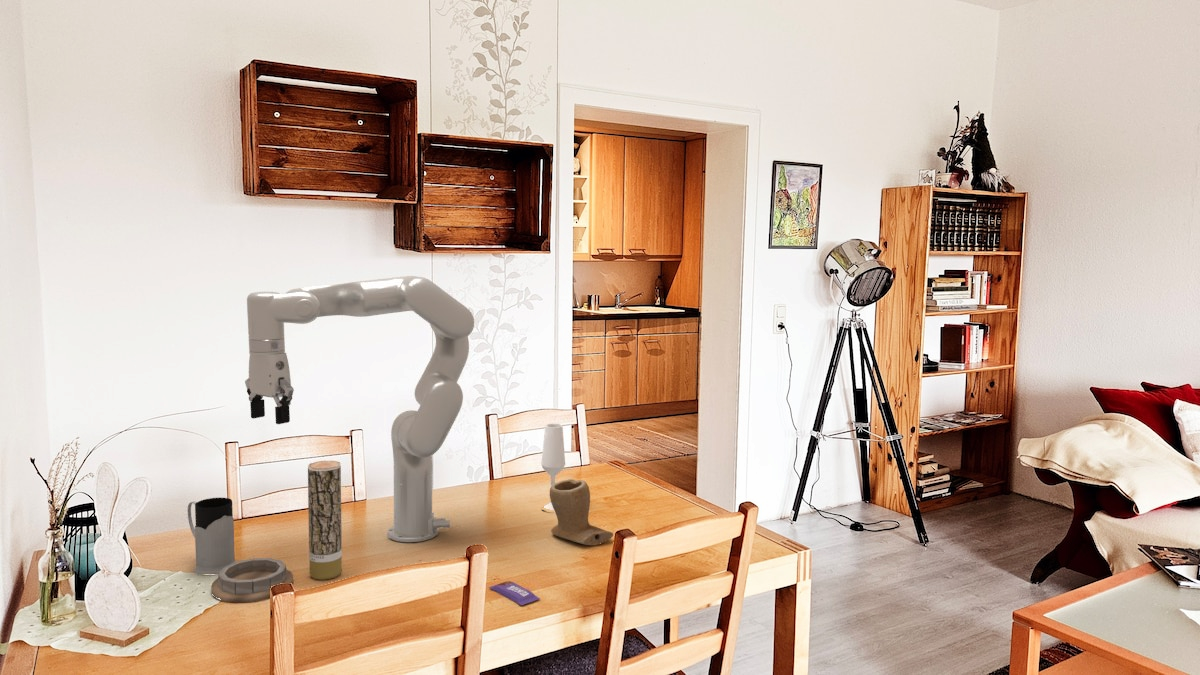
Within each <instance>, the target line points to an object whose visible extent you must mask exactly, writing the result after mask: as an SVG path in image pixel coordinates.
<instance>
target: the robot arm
mask: <svg viewBox="0 0 1200 675" xmlns="http://www.w3.org/2000/svg"><path fill="white" fill-rule="evenodd" d="M246 310H247V311H246V312H247V313H246V314H247V330H248V353H249V359H248V378H247V379H245V381H244V384H245V387H246V392H247V394H248V401H249V402H250V404H249V405H250V406H249V407H250V418H251V419H258V418H263V417H266V416H265V414H266V413H265V412H266V410H265V399H263V398H264V397H265V398H266V397H267V398H270V399H272V398H273V400H274V402H275V404H276V406H275V407H274V410H275V413H274V415H275V424H276V425H282V424H287V423H289V422H291V420H290V419H291V417H290V406H291V402H292V400H293V394H294V392H295V391H294V390H295V389H294V387H293V386H292V382H291V372H290V366H289V359H288V356H287V355H288V354H287V352H286V346H285V344H286V343H285V340H286V339H285V323H289V324H295V325H296V324H297V325H300V324H301V325H304V324H305V325H306V324H309V323H312V322H313V321H315V320H316V319H317V318H321V317H331V316H347V317H348V316H349V317H359V318H361V317H362V318H363V317H364V318H365V317H372V316H378V315H388V314H394V313H404V312H413V313H415V314H416V315H418V316H419V317H420V318H422V319H423V320H424V321H426V322H427V323H428V324H429V326H430V328H431V329H432V331H433V333H434V336H435V347H434V350H433V353H432V355H431V358H430V360H429V361H428V363H427V364H426V367H425V368H424V371H423V372H422V375H421V377H420V378H419V380H418V382H417V384H416V385H415V387H414V397H415V401H416V402H417V404H418V405H419V407H418V410H413V409H412V410H411V409H410V410H406V411H403V412H401V413H400V414H399V415H398V416H396V418H395V419H394V420H393V423H392V425H391V430H390V432H391V435H390V436H391V445H392V454H393V455H392V456H393V457H392V458H393V525H392V526H390V527H389V528H388V529H387V537H388V538H389V539H390V540H393V541H396V542H401V543H418V542H419V543H420V542H423V541H428V540H430V539H432V538H435V537H436V536H438V535H439V528H443V529H447V528H451V520H450V519H446V517H439V518H437V516H435V512H433V456H432V455H435V454H436V453H437V452H438V451H439V450H440V448H441V447H442V446H443V444H444V442H445V440H446V439H447V437H448V435H449V433H450V430H451V429H452V427H453V425H454V423H455V421H456V419H457V417H458V415H459V414H460V412H461V408H462V406H463V403H464V402H463V400H464V393H463V390H462V388H461V386H460V384H458V381H459V379H460V377H461V375H462V373H463V370H464V368H465V366H466V363H467V361H468V357H469V353H470V352H469V350H470V343H469V335H471V334H472V332H473V331H474V328H475V319H474V316H473V315H474V314H473V313H472V312H471V310H470V309H469V308H468V307H467V306H465V305H464V304H463V303H461V302H460V301H458V300H457V298H454V297H453V296H452V295H450V294H449V293H448V292H446V291H445V290H443V288H441V287H440V286H439V285H437V284H436V283H434V282H433V281H431V280H430V279H428V278H426V277H422V276H421V277H420V276H415V275H406V276H399V277H398V276H395V277H388V278H379V279H378V278H377V279H370V280H360V281H359V280H358V281H351V282H344V283H339V284H338V283H337V284H329V285H319V286H318V285H317V286H308V287H307V286H306V287H298V288H293V289H290V290H288V291H286V292H284V293H280V292H276V291H256V292H250V293H249V294H248V296H247V297H246ZM280 398H281V399H280Z"/></svg>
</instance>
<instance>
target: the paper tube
mask: <svg viewBox="0 0 1200 675" xmlns="http://www.w3.org/2000/svg"><path fill="white" fill-rule="evenodd" d="M341 467H342V466H341V462H339V461H338V460H337V461H336V460H319V461H318V460H317V461H313V462H311V463H308V464H307V493H308V494H307V499H308V501H307V503H308V509H307V510H308V558H309V559H308V560H309V561H308V562H309V565H308V566H309V575H310V577H311V578H312V579H315V580H322V581H323V580H331V579H334V578H336V577H338V576H340V574H341V573H342V570H343V564H342V562H343V561H342V560H343V556H342V555H343V553H342V552H343V551H342V550H343V549H342V548H343V547H342V482H341V481H342V476H341V475H342V468H341Z"/></svg>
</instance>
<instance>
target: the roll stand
mask: <svg viewBox="0 0 1200 675" xmlns="http://www.w3.org/2000/svg"><path fill="white" fill-rule="evenodd" d="M280 583H292V584H294V574H293V573H292V572H291V571H290V570H289V569H287V565H286V563H285V562H284V561H283V560H281V559H276V558H271V557H253V558H248V559H243V560H238V561H236V562H234V563H232V564H230V565H228V566H225V567H224V568H222V570H221V571H220V572H219V573H218V575H217V578H216V579H215V580H214V581H213V582H212V584H211V586H210V587H211V588H210V589H211V590H210V591H211V595H212V594H213V595H214V596H215V597H217V598H220V599H221V600H222V601H221V602H224V603H232V604H246V603H248V604H249V603H253V602H260V601H265V600H269V599H271V598H270V588H271V586H273V585H277V584H280Z"/></svg>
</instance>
